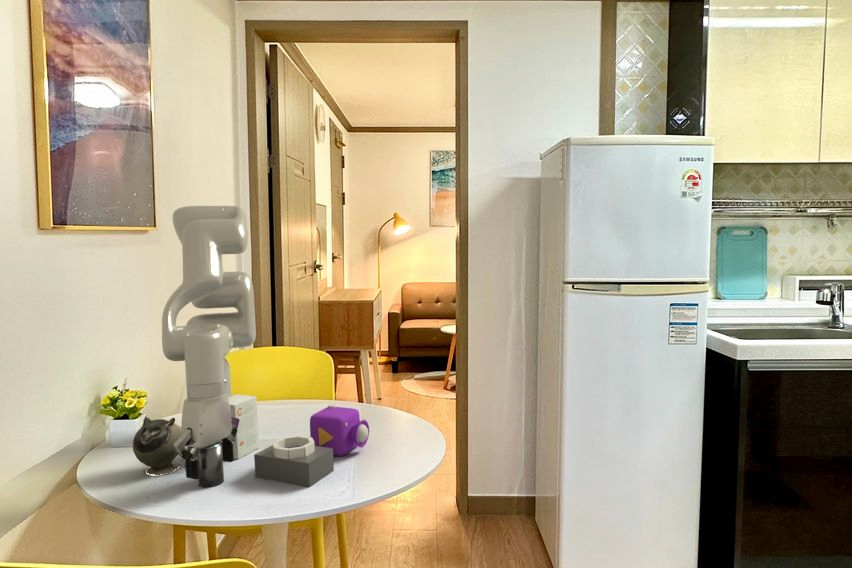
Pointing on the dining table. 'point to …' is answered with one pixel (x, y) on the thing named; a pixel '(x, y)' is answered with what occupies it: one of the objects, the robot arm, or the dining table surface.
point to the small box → (244, 424)
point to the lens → (211, 465)
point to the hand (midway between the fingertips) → (210, 469)
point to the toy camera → (339, 429)
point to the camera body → (294, 461)
